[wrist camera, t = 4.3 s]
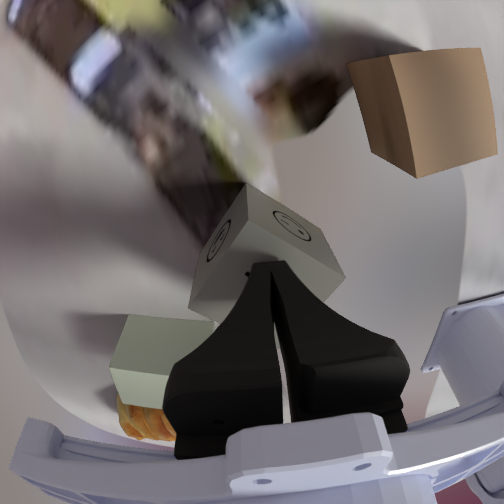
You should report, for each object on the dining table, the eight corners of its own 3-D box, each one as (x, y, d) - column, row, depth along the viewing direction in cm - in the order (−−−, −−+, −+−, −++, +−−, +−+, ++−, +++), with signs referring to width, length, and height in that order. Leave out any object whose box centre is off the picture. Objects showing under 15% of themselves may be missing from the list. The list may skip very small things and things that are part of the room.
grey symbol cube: (320, 228, 17) (345, 277, 13) (270, 290, 19) (278, 348, 15) (246, 182, 16) (248, 219, 12) (199, 253, 18) (187, 308, 14)
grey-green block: (214, 320, 20) (209, 379, 16) (213, 359, 22) (210, 413, 18) (129, 313, 20) (108, 367, 16) (137, 351, 22) (122, 403, 18)
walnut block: (423, 51, 12) (480, 47, 8) (442, 133, 14) (497, 154, 10) (345, 63, 13) (388, 55, 8) (371, 152, 15) (416, 178, 11)
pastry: (208, 379, 24) (205, 417, 21) (228, 417, 27) (228, 450, 24) (113, 384, 25) (103, 417, 21) (144, 420, 28) (138, 450, 25)
